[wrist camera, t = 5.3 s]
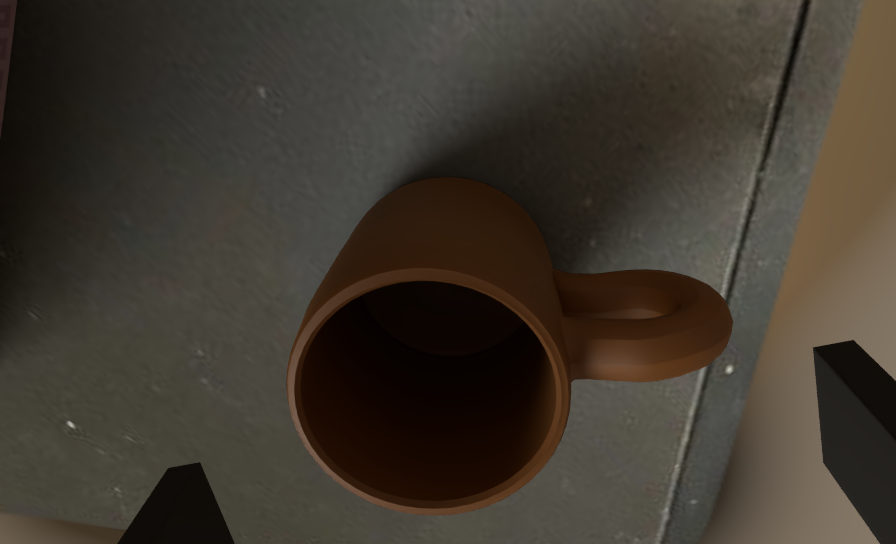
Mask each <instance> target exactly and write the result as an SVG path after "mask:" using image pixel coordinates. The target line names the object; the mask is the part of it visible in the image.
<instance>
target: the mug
mask: <svg viewBox="0 0 896 544" xmlns="http://www.w3.org/2000/svg"><path fill="white" fill-rule="evenodd" d="M732 325H733V320H732V317H731V314H730V311H729V308H728V306H727V304H726V301H725V300H724V299H723V298H722V296H721V295H720V294H719V293H718V292H717V291H715V290H714V289H713V288H712V287H710V286H709V285H708V284H706V283H703V282H701V281H699V280H697V279H694V278H692V277H689V276H686V275H682V274H678V273H675V272H668V271H662V270H647V269H645V270H623V271H614V272H606V273H597V274H575V273H567V272H562V271H558V270H555V269H553V266H552V262H551V258H550V254H549V251H548V248H547V246H546V243H545V241H544V238H543V236H542V234H541V232H540V231H539V229H538V227H537V225H536V224H535V223H534V221H533V220H532V219H531V217H530V216H529V215H528V213H527V212H526V211H525V210H524V209H523V208H522V207H521V206H520V205H519V204H517V203H516V202H515V201H514V200H512V199H511V198H510V197H508V196H507V195H506V194H504V193H502V192H500V191H499V190H497V189H495V188H493V187H491V186H488V185H486V184H484V183H481V182H477V181H474V180H470V179H464V178H457V177H437V178H428V179H424V180H420V181H416V182H413V183H410V184H408V185H405V186H402V187H400V188H398V189H396V190H395V191H393V192H391V193H389V194H388V195H386V196H385V197H384V198H382V199H381V200H380V201H378V202H377V203H376V204H375V205H374V206H373V207H372V208H371V209H370V210H369V211H368V212H367V213H366V214H365V216H364V217H363V218H362V220H361V221H360V222H359V224H358V225H357V226H356V228H355V229H354V231H353V233H352V234H351V236H350V238H349V239H348V241H347V242H346V244H345V245H344V247H343V248H342V250H341V251H340V253H339V255H338V256H337V258H336V260H335V261H334V263H333V265H332V266H331V268H330V270H329V271H328V273H327V275H326V276H325V278H324V280H323V281H322V283H321V285H320V286H319V288H318V290H317V291H316V293H315V295H314V297H313V299H312V300H311V302H310V304H309V306H308V308H307V310H306V313H305V316H304V318H303V321H302V324H301V326H300V329H299V331H298V334H297V337H296V339H295V342H294V345H293V347H292V350H291V353H290V358H289V363H288V367H287V383H286V385H287V397H288V403H289V408H290V412H291V416H292V419H293V421H294V424H295V427H296V429H297V432H298V434H299V436H300V438H301V440H302V441H303V443H304V445H305V447H306V449H307V450H308V451H309V453H310V454H311V456H312V457H313V458H314V460H315V461H316V462H317V463H318V464H319V465H320V467H321V468H322V469H323V470H324V471H325V472H326V473H327V474H328V475H329V476H331V477H332V478H333V479H334V480H335V481H337V482H338V483H339V484H340V485H342V486H343V487H345V488H346V489H348V490H349V491H351V492H352V493H354V494H355V495H357V496H359V497H361V498H363V499H365V500H367V501H369V502H372V503H374V504H377V505H380V506H382V507H385V508H388V509H392V510H396V511H400V512H405V513H411V514H418V515H451V514H458V513H464V512H469V511H473V510H476V509H480V508H483V507H486V506H489V505H491V504H494V503H496V502H498V501H501V500H503V499H504V498H506V497H508V496H510V495H511V494H513V493H515V492H516V491H518V490H519V489H520V488H522V487H523V486H524V485H526V484H527V483H528V482H529V481H530V480H531V479H532V478H533V477H534V476H535V475H536V474H537V473H538V472H539V471H540V470H541V469H542V468H543V467H544V466H545V464H546V463H547V462H548V460H549V459H550V458H551V456H552V455H553V454H554V452H555V450H556V448H557V446H558V445H559V443H560V441H561V438H562V436H563V433H564V430H565V428H566V425H567V420H568V416H569V411H570V401H571V382H572V381H573V380H575V379H594V380H612V381H632V382H649V381H659V380H664V379H669V378H673V377H678V376H681V375H684V374H687V373H690V372H692V371H695V370H698V369H701V368H703V367H705V366H707V365H709V364H710V363H711V362H712V361H713V360H715V359H716V358H717V357H718V356H719V355H721V354H722V352H723V351H724V349H725V348H726V346H727V344H728V341H729V338H730V335H731V331H732Z"/></svg>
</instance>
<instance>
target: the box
mask: <svg viewBox="0 0 896 544" xmlns="http://www.w3.org/2000/svg"><path fill="white" fill-rule="evenodd" d="M16 7H17V0H0V140H1V131H2V123H3V115H4V106H5V98H6V90H7V82H8V73H9V65H10V57H11V49H12V40H13V32H14V24H15V15H16Z"/></svg>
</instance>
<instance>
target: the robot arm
mask: <svg viewBox="0 0 896 544" xmlns="http://www.w3.org/2000/svg"><path fill="white" fill-rule="evenodd" d="M813 351H814V363H815V375H816V385H817V397H818V408H819V419H820V431H821V442H822V453H823V463H824V464H825V466H826V467H827V468H828V470H829V471H830V473H831V474H832V476H833V477H834V479H835V480H836V481H837V483H838V484H839V486H840V487H841V489H842V490H843V491H844V493H845V494H846V496H847V497H848V499H849V500H850V501H851V503H852V504H853V506H854V507H855V508H856V510H857V511H858V513H859V514H860V516H861V517H862V519H863V520H864V521H865V523H866V524H867V526H868V527H869V528H870V530H871V531H872V533H873V534H874V536H875V537H876V538H877V540H878V541H879V543H880V544H896V381H895V380H894V379H893V378H892V377H891V376H890V375H889V374H888V373H887V372H886V371H885V370H884V369H883V368H882V367H880V365H879V364H878V363H877V362H876V361H875V360H874V359H872V358H871V357H870V356H869V355H868V354H867V353H866V352H865V351H864V350H863V349H862V348H861V347H860V346H859V345H858V344H857V343H856V342H855V341H854V340H851V341H845V342H840V343H835V344H830V345H824V346H819V347H813ZM118 544H234V541H233V539H232V536H231V534H230V532H229V529H228V527H227V525H226V522H225V520H224V518H223V515H222V513H221V511H220V508H219V506H218V504H217V501H216V499H215V497H214V494H213V492H212V489H211V487H210V485H209V482H208V480H207V478H206V475H205V473H204V471H203V468H202V466H201V464H200V462H199V463H194V464H188V465H183V466H178V467H172V468H168V469H167V471H166V472H165V474H164V475H163V477H162V478H161V480H160V481H159V483H158V484H157V486H156V487H155V489H154V490H153V492H152V493H151V495H150V496H149V498H148V499H147V501H146V502H145V504H144V505H143V506H142V508H141V509H140V511H139V512H138V514H137V515H136V517H135V518H134V520H133V521H132V523H131V524H130V526H129V527H128V529H127V530H126V532H125V533H124V535H123V536H122V538H121V539H120V541H119V542H118Z"/></svg>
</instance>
